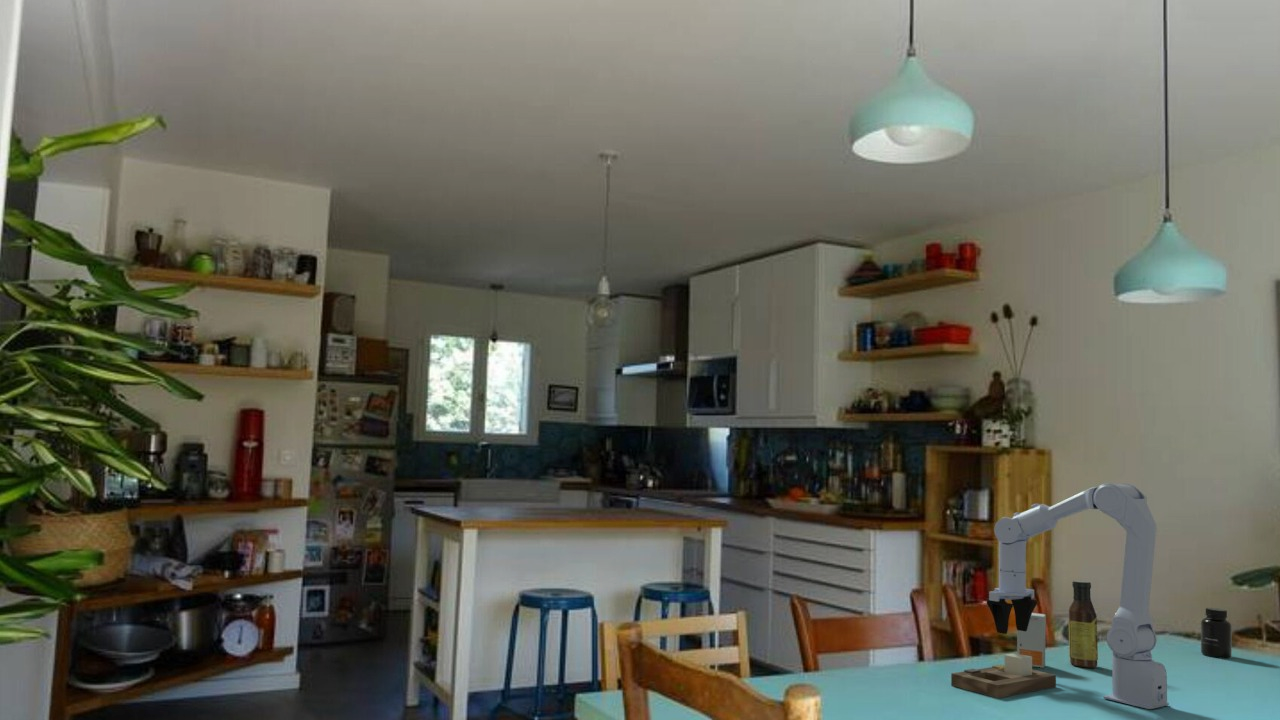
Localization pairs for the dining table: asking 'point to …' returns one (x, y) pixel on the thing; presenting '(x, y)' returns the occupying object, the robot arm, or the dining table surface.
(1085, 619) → the sauce bottle
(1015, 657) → the plug
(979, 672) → the grey tag
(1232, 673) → the dining table surface
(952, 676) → the socket board
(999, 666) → the brass tag
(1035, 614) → the skincare box
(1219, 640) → the supplement bottle
